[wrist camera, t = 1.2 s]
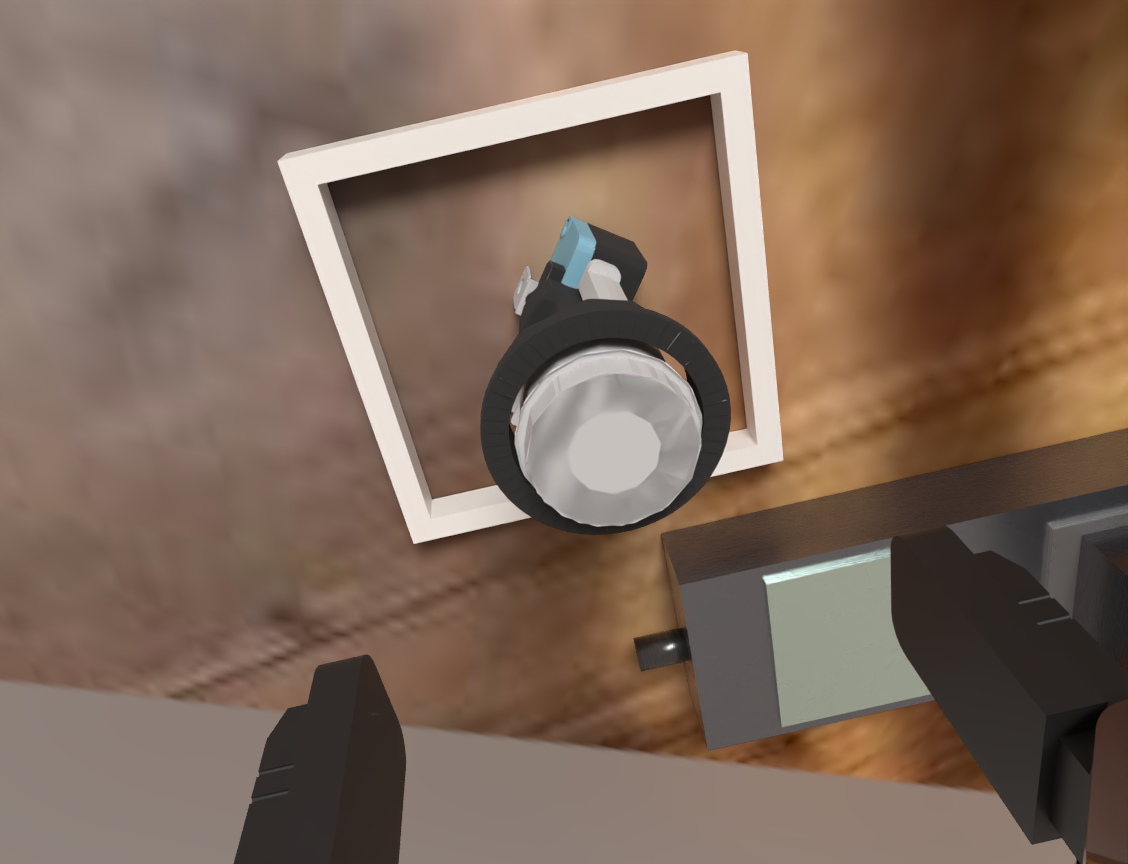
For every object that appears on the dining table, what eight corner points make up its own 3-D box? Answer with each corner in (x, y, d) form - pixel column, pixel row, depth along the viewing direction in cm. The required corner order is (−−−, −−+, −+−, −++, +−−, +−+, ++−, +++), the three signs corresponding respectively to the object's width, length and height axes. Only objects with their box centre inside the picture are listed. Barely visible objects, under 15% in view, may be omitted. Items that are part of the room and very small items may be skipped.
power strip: (1342, 379, 30) (1620, 502, 23) (1294, 555, 34) (1520, 709, 26) (612, 544, 30) (657, 718, 23) (646, 701, 34) (693, 893, 27)
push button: (591, 430, 28) (646, 631, 19) (438, 378, 26) (422, 570, 18) (679, 247, 25) (792, 382, 16) (516, 179, 24) (542, 287, 15)
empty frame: (734, 50, 23) (747, 53, 22) (772, 443, 29) (783, 460, 28) (286, 153, 23) (277, 161, 22) (415, 523, 29) (413, 543, 28)
